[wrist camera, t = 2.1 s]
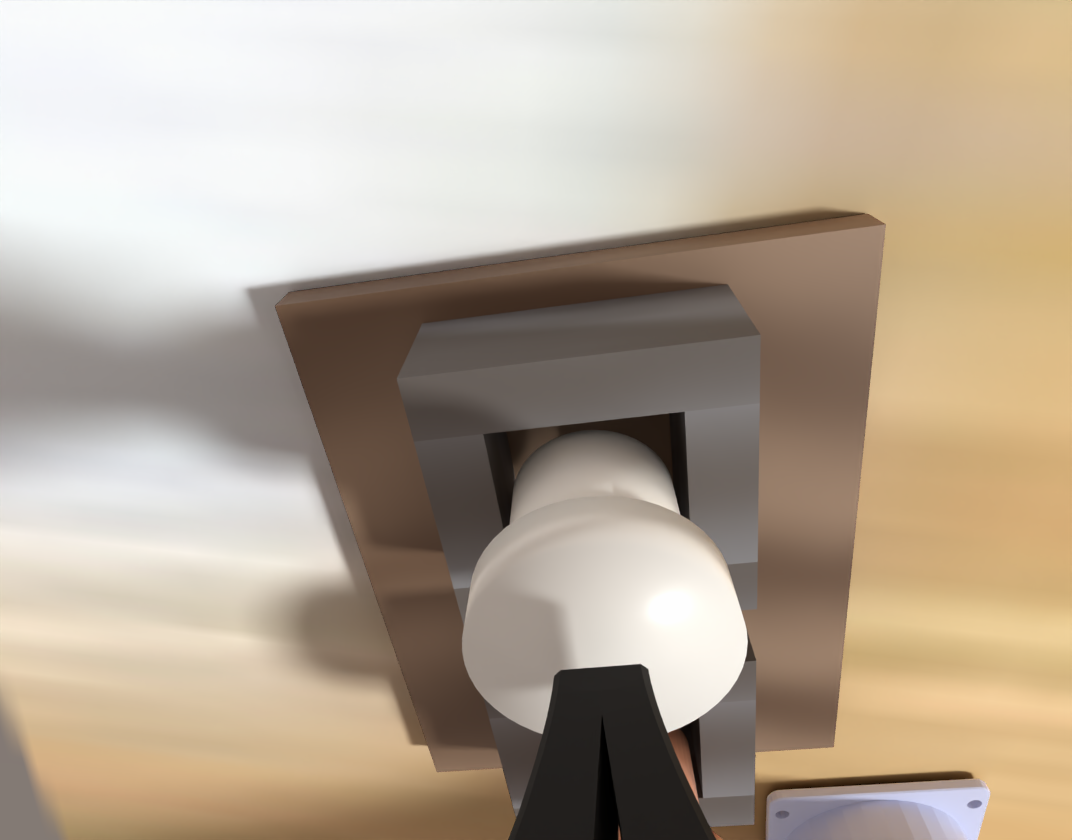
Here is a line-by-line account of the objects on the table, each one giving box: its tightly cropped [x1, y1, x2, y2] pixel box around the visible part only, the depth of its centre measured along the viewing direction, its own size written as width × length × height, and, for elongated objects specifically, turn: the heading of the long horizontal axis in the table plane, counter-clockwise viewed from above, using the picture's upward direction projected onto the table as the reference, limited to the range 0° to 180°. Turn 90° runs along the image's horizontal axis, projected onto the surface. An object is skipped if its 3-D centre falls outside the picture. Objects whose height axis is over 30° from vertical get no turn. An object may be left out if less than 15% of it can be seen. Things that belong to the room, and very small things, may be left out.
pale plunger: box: [462, 430, 748, 734], centre depth 14 cm, size 5×5×4 cm
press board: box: [275, 214, 886, 827], centre depth 19 cm, size 18×14×4 cm
